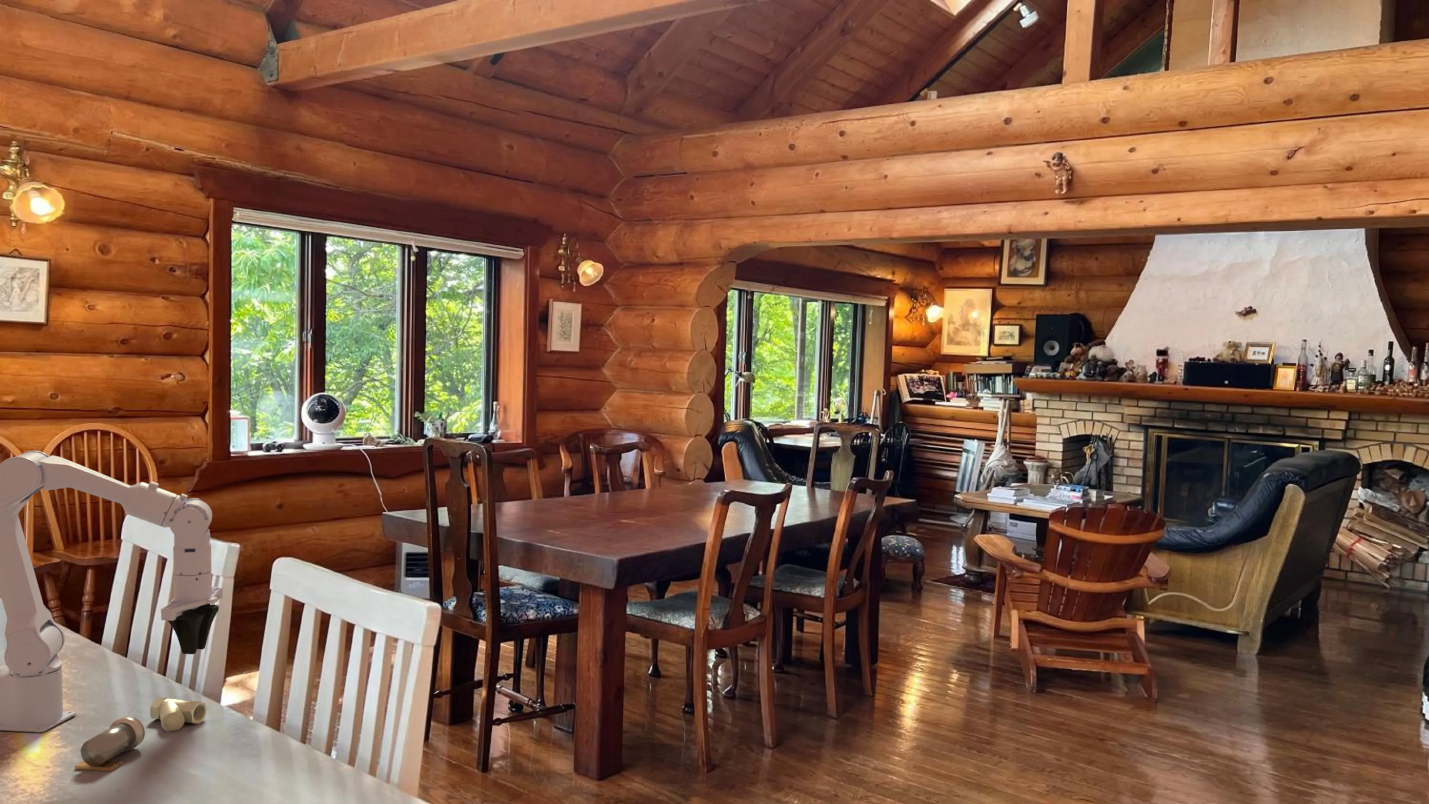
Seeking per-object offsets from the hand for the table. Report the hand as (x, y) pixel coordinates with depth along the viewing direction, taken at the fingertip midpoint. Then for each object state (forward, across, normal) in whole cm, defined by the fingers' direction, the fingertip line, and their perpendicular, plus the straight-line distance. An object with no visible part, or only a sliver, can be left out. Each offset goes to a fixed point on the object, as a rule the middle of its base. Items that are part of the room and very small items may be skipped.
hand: (193, 651), depth 174 cm
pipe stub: (+10, -21, 0) cm, 23 cm away
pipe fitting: (+10, -7, 0) cm, 13 cm away
